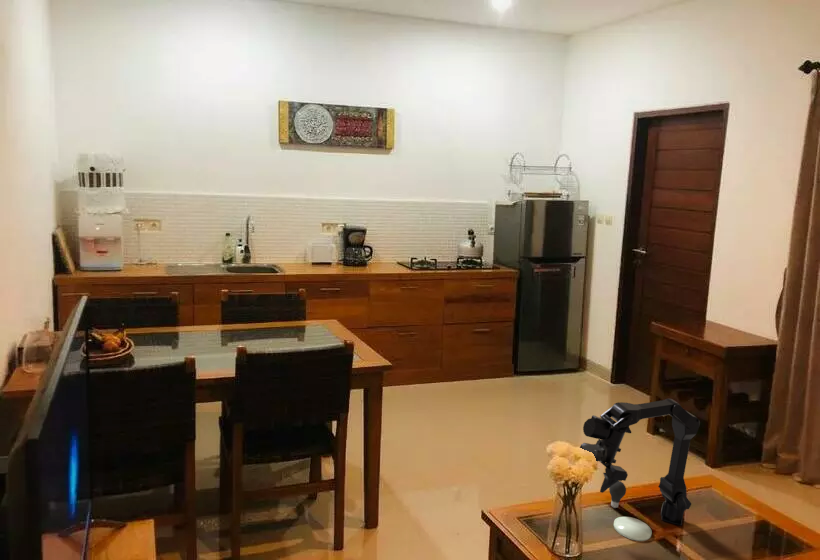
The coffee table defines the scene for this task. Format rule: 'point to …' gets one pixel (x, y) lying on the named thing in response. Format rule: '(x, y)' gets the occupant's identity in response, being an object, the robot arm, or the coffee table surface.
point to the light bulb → (617, 493)
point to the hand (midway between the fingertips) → (593, 484)
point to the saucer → (632, 528)
